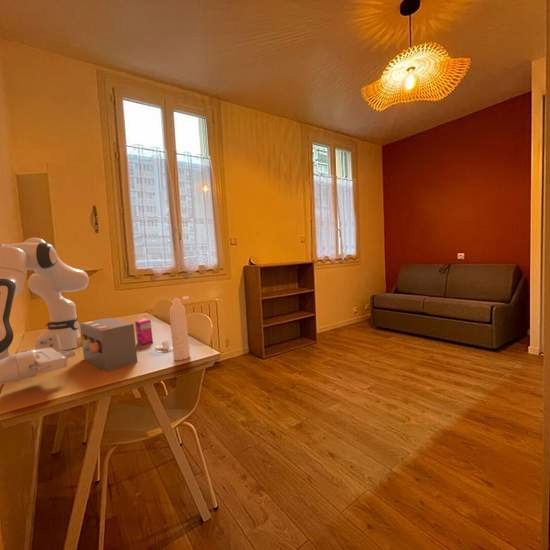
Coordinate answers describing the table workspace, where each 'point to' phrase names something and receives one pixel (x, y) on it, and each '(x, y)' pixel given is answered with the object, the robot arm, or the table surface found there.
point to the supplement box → (143, 332)
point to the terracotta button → (94, 347)
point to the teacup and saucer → (163, 346)
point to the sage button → (86, 343)
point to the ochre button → (80, 340)
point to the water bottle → (179, 330)
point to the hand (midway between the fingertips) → (74, 352)
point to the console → (110, 343)
